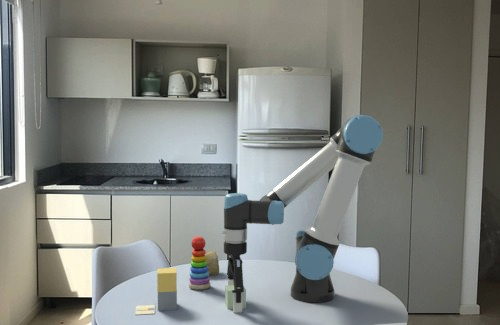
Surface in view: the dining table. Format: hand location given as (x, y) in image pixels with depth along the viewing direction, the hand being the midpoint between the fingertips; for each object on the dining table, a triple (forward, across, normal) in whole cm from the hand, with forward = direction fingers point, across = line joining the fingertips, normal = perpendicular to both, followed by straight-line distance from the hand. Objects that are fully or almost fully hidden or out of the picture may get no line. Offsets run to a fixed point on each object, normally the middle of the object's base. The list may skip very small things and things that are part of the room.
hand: (234, 305), depth 173 cm
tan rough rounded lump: (0, -39, -5) cm, 39 cm away
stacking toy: (0, -22, -10) cm, 24 cm away
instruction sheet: (0, 0, -29) cm, 29 cm away
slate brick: (0, -2, -22) cm, 22 cm away
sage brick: (0, 0, 0) cm, 0 cm away
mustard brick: (-6, -2, -22) cm, 23 cm away
